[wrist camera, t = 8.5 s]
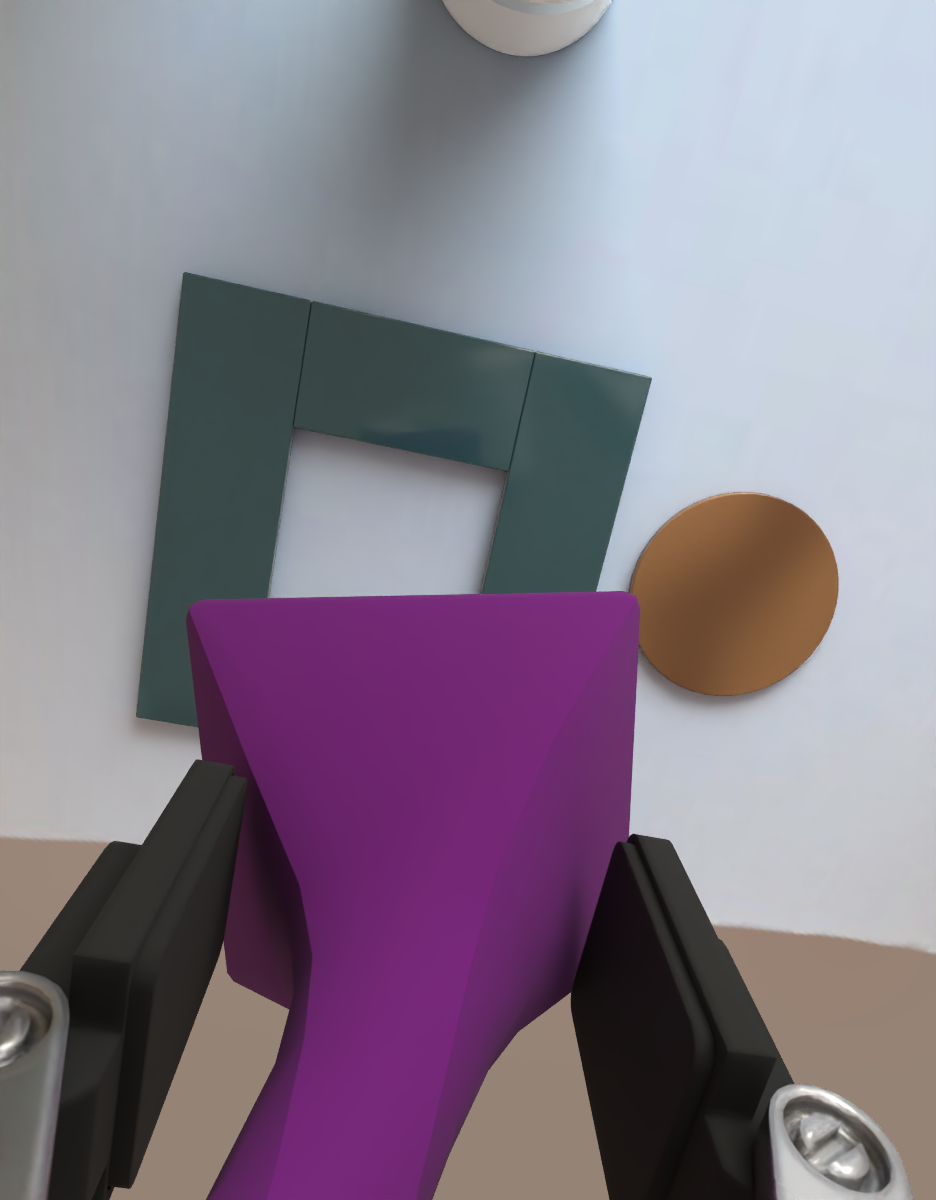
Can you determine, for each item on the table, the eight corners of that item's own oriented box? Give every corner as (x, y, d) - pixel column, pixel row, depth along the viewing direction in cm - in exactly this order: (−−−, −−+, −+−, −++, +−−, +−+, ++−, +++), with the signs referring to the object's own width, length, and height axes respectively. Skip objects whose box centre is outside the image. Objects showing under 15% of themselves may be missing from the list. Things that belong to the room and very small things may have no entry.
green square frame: (648, 377, 31) (652, 377, 31) (543, 778, 36) (545, 785, 35) (187, 273, 29) (182, 271, 29) (140, 711, 34) (135, 717, 33)
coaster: (863, 514, 33) (868, 516, 33) (796, 708, 36) (800, 712, 35) (660, 471, 32) (663, 473, 32) (605, 673, 35) (607, 676, 34)
